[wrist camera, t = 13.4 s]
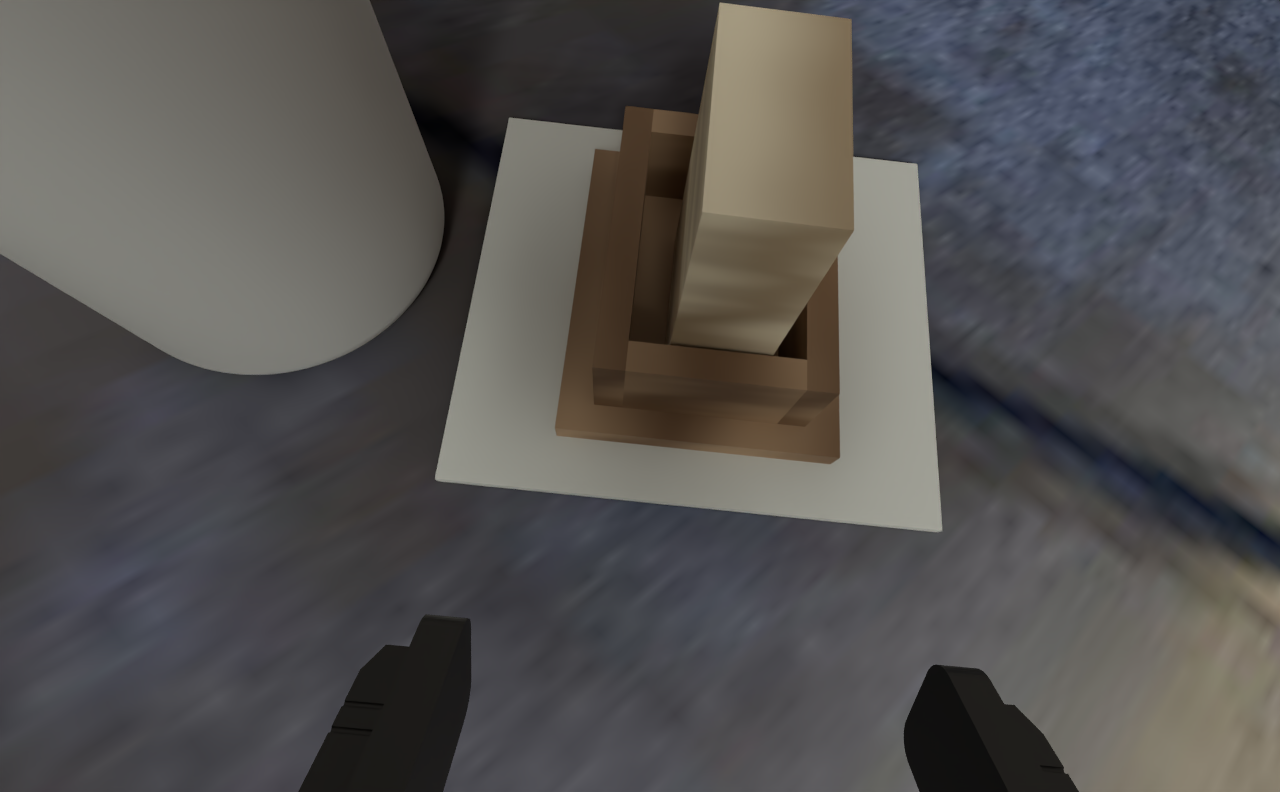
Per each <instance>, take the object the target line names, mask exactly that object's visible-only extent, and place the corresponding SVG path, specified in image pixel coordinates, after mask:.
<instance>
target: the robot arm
mask: <svg viewBox="0 0 1280 792" xmlns="http://www.w3.org/2000/svg"><path fill="white" fill-rule="evenodd" d="M470 688H471V622H470V619H469V618H458V617H448V616H437V615H425V616H424V617H423V618H422V620H421V622H420V624H419V626H418V628H417V630H416V633H415V635H414V637H413V639H412V642H411V644H410V646H409V647H406V646H395V645H386V646H384V647H383V648H382V649H381V650H380V651H379V652H378V653H377V654H376V655H375V656H374V657H373V658H372V659H371V660H370V661H369V662H368V663H367V664H366V665H365V666H364V667H363V668H362V669H360V671H359V673H358V675H357V677H356V679H355V681H354V683H353V685H352V687H351V689H350V691H349V693H348V695H347V697H346V699H345V703H344V706H342V707H341V709H340V711H339V713H338V715H337V717H336V719H335V721H334V723H333V725H332V729H331V732H330V733H328V734H327V736H326V738H325V740H324V742H323V744H322V746H321V748H320V750H319V752H318V754H317V756H316V758H315V760H314V762H313V764H312V766H311V768H310V770H309V772H308V774H307V776H306V778H305V780H304V782H303V784H302V786H301V788H300V790H299V792H443V790H444V786H445V783H446V780H447V776H448V773H449V770H450V766H451V763H452V760H453V756H454V753H455V750H456V746H457V743H458V740H459V736H460V733H461V730H462V726H463V723H464V719H465V716H466V712H467V707H468V702H469V696H470ZM904 746H905V752H906V757H907V760H908V763H909V766H910V768H911V771H912V773H913V776H914V779H915V781H916V784H917V786H918V789H919V792H1079V791H1078V790H1077V788H1076V786H1075V785H1074V783H1073V781H1072V780H1071V778H1070V777H1069V775H1068V774H1065V773H1064V770H1063V768H1064V767H1063V765H1062V764H1061V762H1060V760H1059V759H1058V757H1057V755H1056V754H1055V752H1054V751H1053V749H1052V747H1051V746H1050V744H1049V742H1048V741H1047V739H1046V738H1045V736H1044V734H1043V733H1042V732H1041V731H1040V730H1039V729H1038V728H1037V727H1036V726H1035V725H1034V724H1033V723H1032V722H1031V721H1030V720H1029V719H1028V718H1027V717H1026V716H1025V715H1024V714H1023V713H1022V712H1021V711H1020V710H1019V709H1018V708H1017V707H1016V706H1015V705H1006V704H1004V703H1003V701H1002V700H1001V698H1000V696H999V694H998V693H997V691H996V689H995V688H994V686H993V684H992V682H991V681H990V679H989V678H988V676H987V675H986V674H985V673H984V672H983V671H982V670H980V669H976V668H965V667H955V666H944V665H933V666H932V667H931V668H930V669H929V670H928V672H927V674H926V677H925V679H924V681H923V683H922V686H921V688H920V690H919V692H918V695H917V697H916V699H915V702H914V704H913V706H912V708H911V711H910V713H909V715H908V717H907V720H906V723H905V727H904Z"/></svg>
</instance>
